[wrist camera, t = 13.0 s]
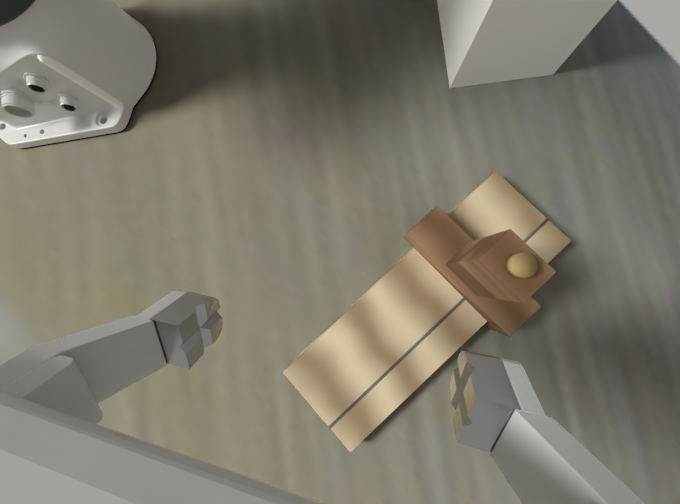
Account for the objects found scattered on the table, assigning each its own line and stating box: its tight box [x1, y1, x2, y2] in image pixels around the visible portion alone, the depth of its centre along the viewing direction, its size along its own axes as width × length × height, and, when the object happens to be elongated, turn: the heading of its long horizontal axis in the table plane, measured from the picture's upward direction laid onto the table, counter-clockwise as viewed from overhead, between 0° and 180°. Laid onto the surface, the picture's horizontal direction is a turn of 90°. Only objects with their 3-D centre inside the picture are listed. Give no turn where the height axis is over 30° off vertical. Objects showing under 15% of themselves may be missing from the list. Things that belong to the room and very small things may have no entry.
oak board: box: [283, 171, 571, 452], centre depth 28 cm, size 30×10×2 cm, turn 133°
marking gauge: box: [404, 206, 556, 337], centre depth 23 cm, size 4×13×12 cm, turn 43°
